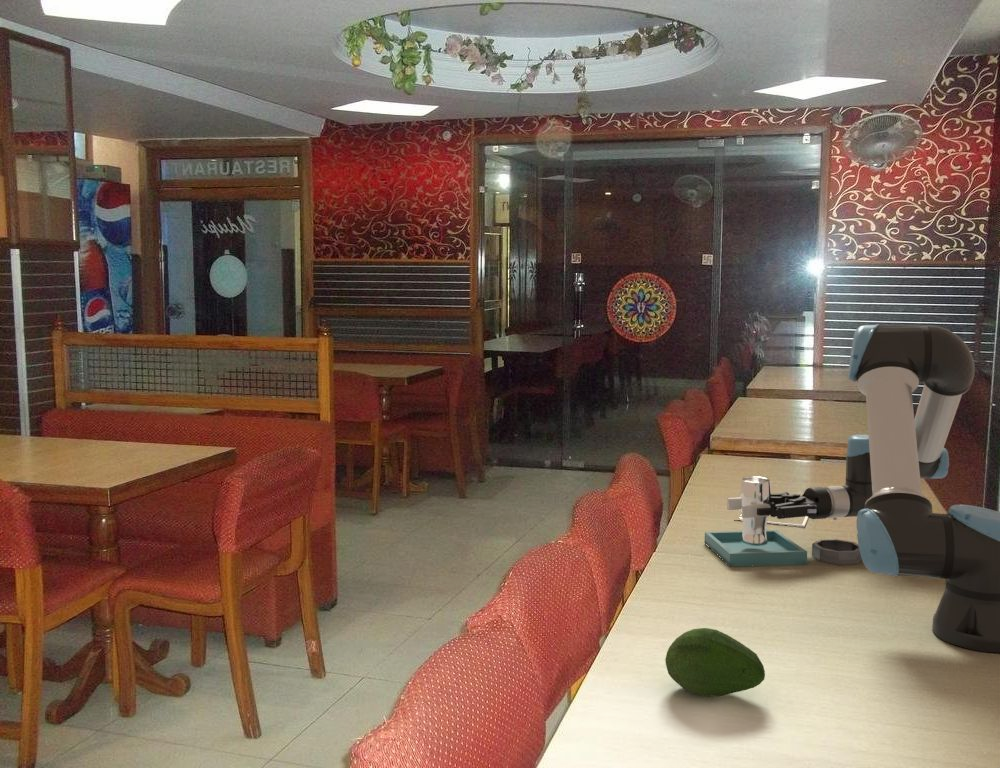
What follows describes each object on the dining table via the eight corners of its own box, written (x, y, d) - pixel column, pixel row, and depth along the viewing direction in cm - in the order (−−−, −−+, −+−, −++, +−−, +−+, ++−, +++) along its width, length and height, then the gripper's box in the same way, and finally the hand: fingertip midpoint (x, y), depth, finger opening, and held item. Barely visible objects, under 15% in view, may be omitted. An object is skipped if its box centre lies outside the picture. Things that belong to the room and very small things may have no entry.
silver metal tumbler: (735, 543, 217) (737, 480, 215) (742, 536, 223) (744, 475, 222) (766, 548, 214) (768, 484, 212) (772, 540, 220) (774, 478, 218)
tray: (806, 564, 211) (807, 551, 211) (729, 566, 209) (729, 553, 209) (775, 542, 229) (776, 530, 228) (704, 544, 227) (704, 532, 227)
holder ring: (869, 564, 211) (869, 551, 211) (825, 565, 210) (825, 552, 210) (848, 551, 221) (848, 538, 221) (806, 552, 220) (806, 539, 220)
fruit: (768, 690, 147) (770, 629, 146) (757, 716, 138) (760, 652, 137) (674, 672, 153) (675, 614, 152) (658, 697, 144) (659, 635, 143)
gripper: (847, 528, 212) (754, 535, 208) (802, 507, 231) (716, 513, 227) (849, 496, 212) (755, 502, 207) (803, 478, 231) (717, 482, 226)
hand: (735, 507), depth 217 cm, fingers closed on silver metal tumbler, 7 cm apart
